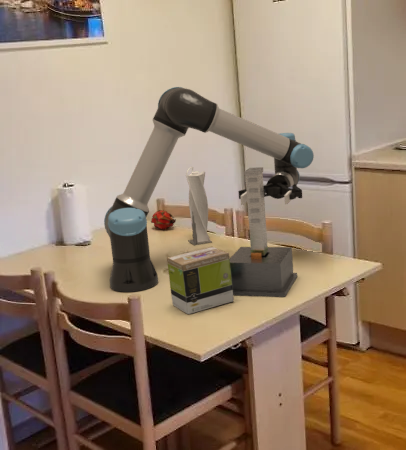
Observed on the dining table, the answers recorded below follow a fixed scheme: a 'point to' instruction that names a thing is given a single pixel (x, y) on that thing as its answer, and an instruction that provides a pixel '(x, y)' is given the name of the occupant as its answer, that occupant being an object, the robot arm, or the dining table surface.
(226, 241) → the dining table surface
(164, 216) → the dragon fruit
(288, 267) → the stand base
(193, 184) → the skyscraper
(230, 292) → the tea box
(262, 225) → the column
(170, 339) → the dining table surface
